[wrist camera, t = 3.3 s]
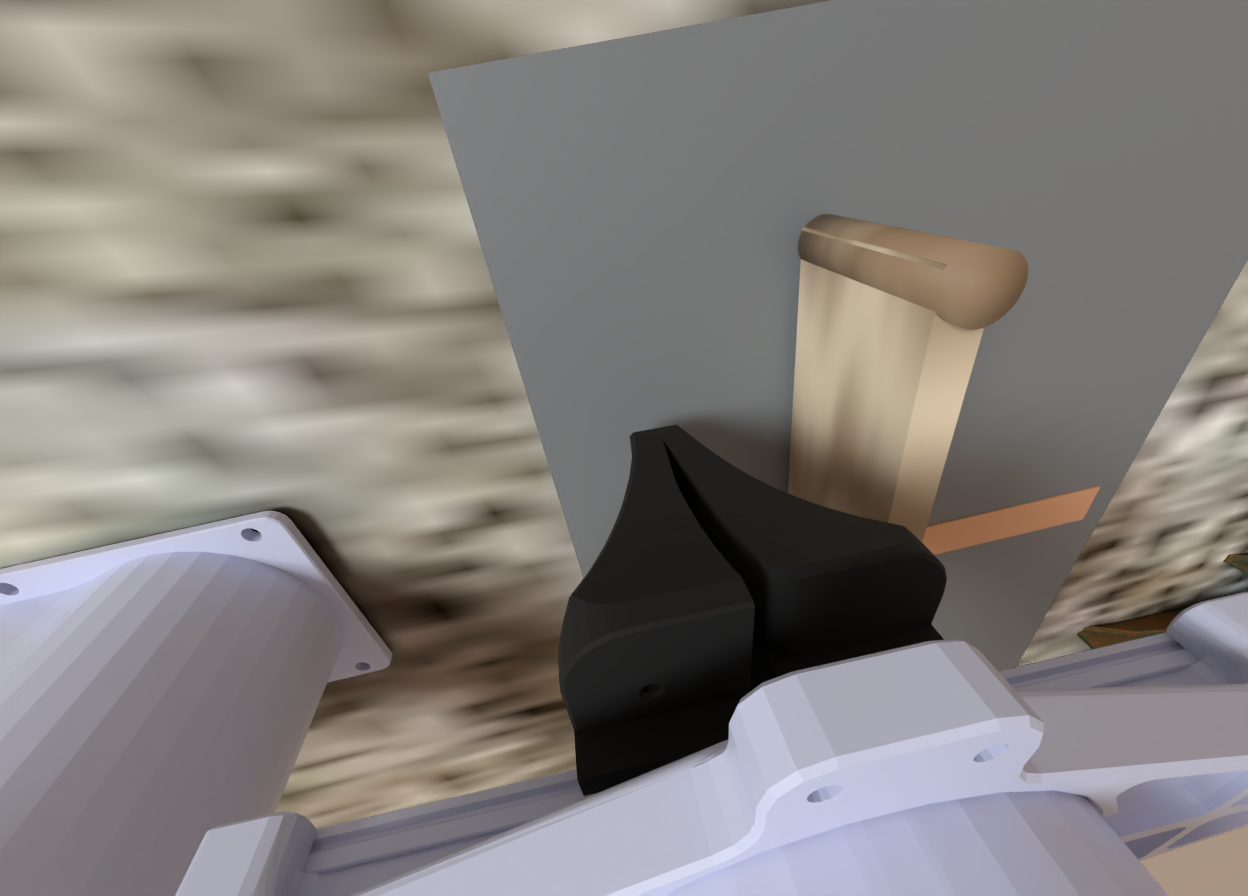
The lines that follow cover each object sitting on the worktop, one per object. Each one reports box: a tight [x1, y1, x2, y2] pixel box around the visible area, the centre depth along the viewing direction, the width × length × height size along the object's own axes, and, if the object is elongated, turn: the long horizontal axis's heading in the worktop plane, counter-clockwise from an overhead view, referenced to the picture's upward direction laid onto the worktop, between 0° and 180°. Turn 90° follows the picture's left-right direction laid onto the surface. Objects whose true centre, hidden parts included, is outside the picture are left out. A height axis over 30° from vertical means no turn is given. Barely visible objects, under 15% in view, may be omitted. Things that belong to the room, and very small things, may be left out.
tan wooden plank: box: [788, 214, 1028, 542], centre depth 12 cm, size 12×1×5 cm, turn 9°
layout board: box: [428, 0, 1248, 671], centre depth 16 cm, size 22×32×6 cm
